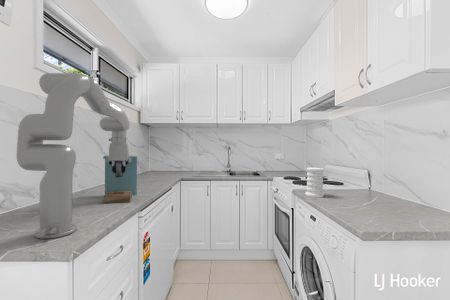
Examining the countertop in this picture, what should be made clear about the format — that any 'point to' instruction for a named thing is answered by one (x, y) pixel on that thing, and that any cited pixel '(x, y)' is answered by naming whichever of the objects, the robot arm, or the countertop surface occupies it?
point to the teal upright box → (124, 182)
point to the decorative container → (315, 182)
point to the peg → (118, 168)
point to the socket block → (117, 196)
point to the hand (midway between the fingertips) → (118, 172)
